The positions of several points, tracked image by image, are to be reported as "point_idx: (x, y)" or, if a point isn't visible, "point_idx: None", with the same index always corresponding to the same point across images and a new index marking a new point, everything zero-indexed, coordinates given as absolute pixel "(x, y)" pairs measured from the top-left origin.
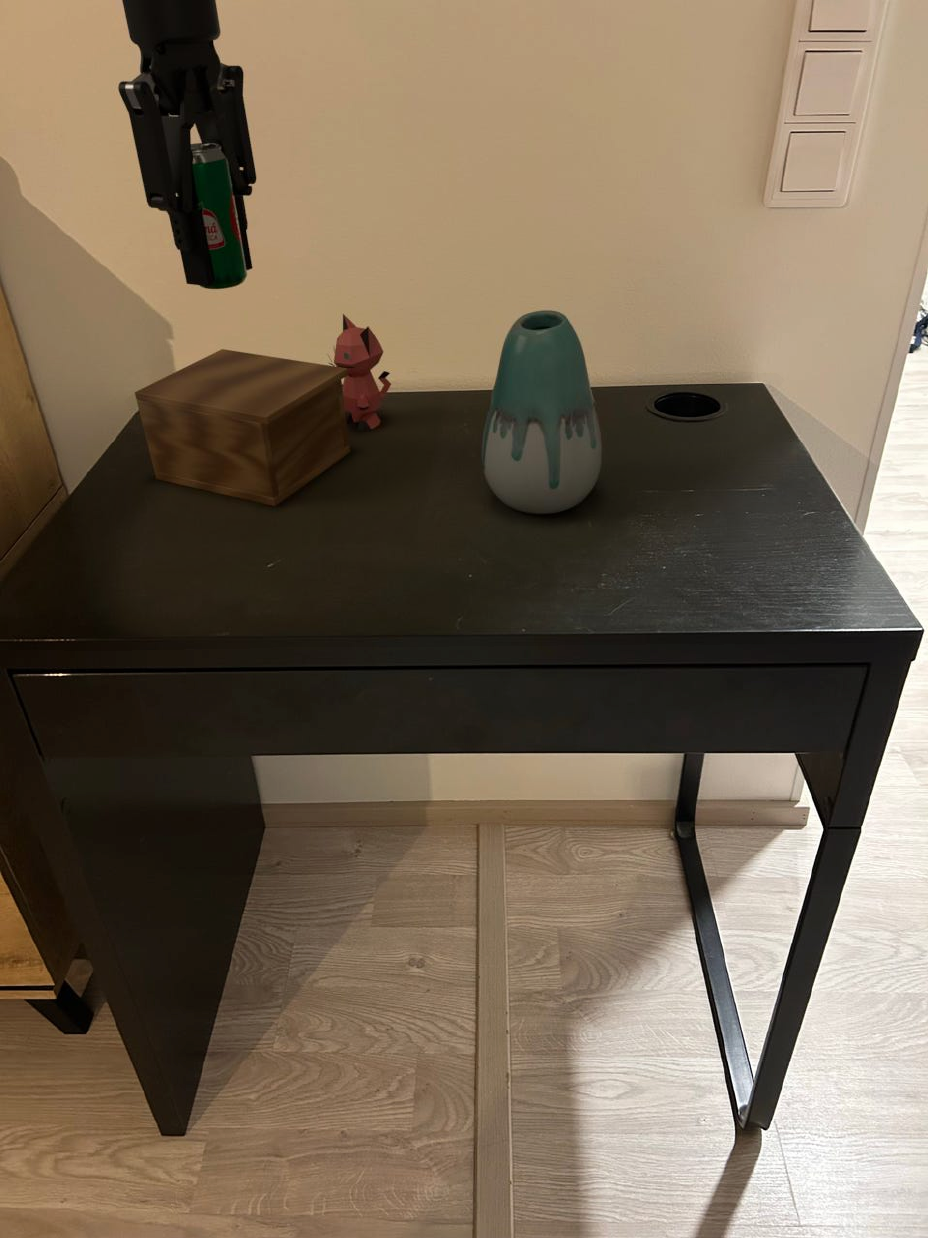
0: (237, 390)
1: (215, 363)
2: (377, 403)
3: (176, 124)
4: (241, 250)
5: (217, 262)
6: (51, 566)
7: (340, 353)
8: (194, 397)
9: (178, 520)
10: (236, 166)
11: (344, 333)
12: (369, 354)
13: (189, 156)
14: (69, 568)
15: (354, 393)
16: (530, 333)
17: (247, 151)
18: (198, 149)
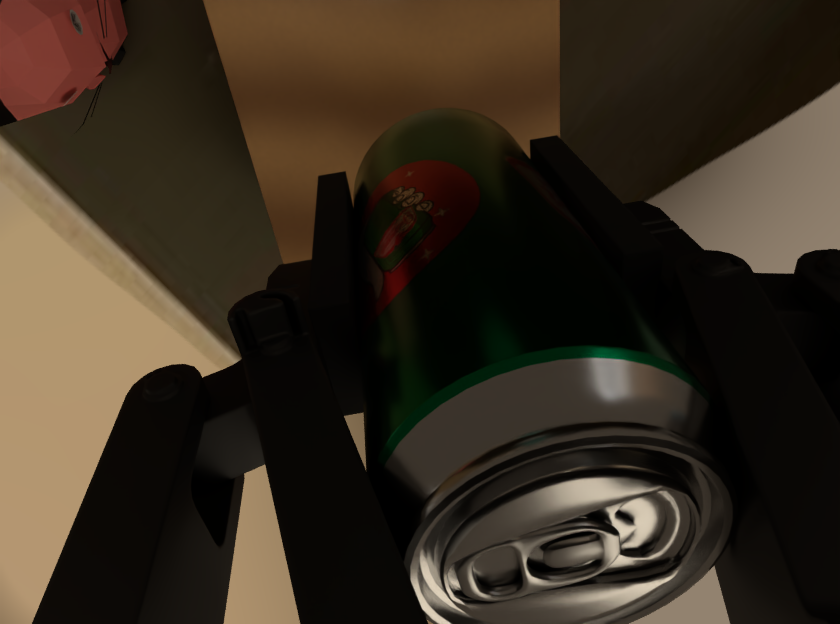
0: (457, 55)
1: None
2: None
3: None
4: (409, 151)
5: (524, 154)
6: (796, 70)
7: (80, 50)
8: (534, 112)
9: (614, 11)
10: (280, 422)
11: (32, 63)
12: None
13: (762, 437)
14: (796, 39)
15: (101, 4)
16: None
17: (131, 499)
18: (672, 478)
